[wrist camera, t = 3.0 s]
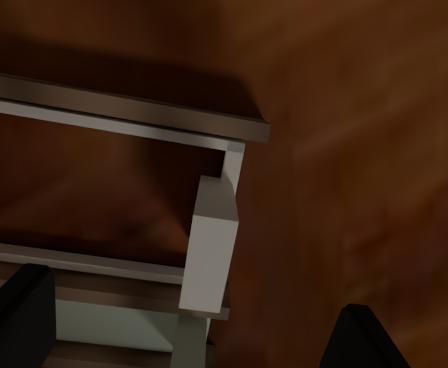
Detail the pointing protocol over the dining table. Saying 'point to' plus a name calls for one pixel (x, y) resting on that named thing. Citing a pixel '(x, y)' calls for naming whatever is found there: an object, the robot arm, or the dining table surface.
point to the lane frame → (115, 285)
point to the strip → (135, 330)
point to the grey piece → (201, 223)
